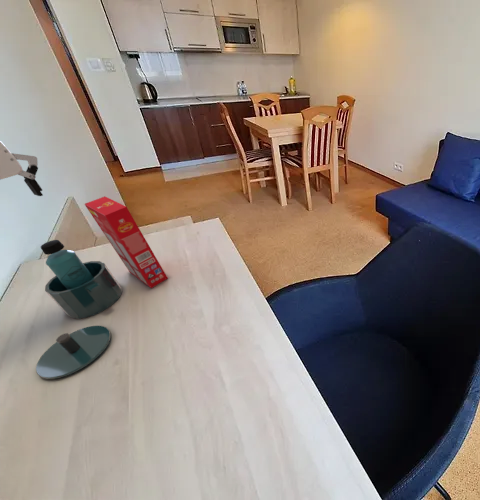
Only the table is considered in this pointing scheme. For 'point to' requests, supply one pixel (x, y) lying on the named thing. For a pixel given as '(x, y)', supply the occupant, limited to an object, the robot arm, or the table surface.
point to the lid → (73, 352)
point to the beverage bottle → (66, 265)
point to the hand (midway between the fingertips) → (14, 203)
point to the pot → (86, 292)
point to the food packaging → (127, 240)
